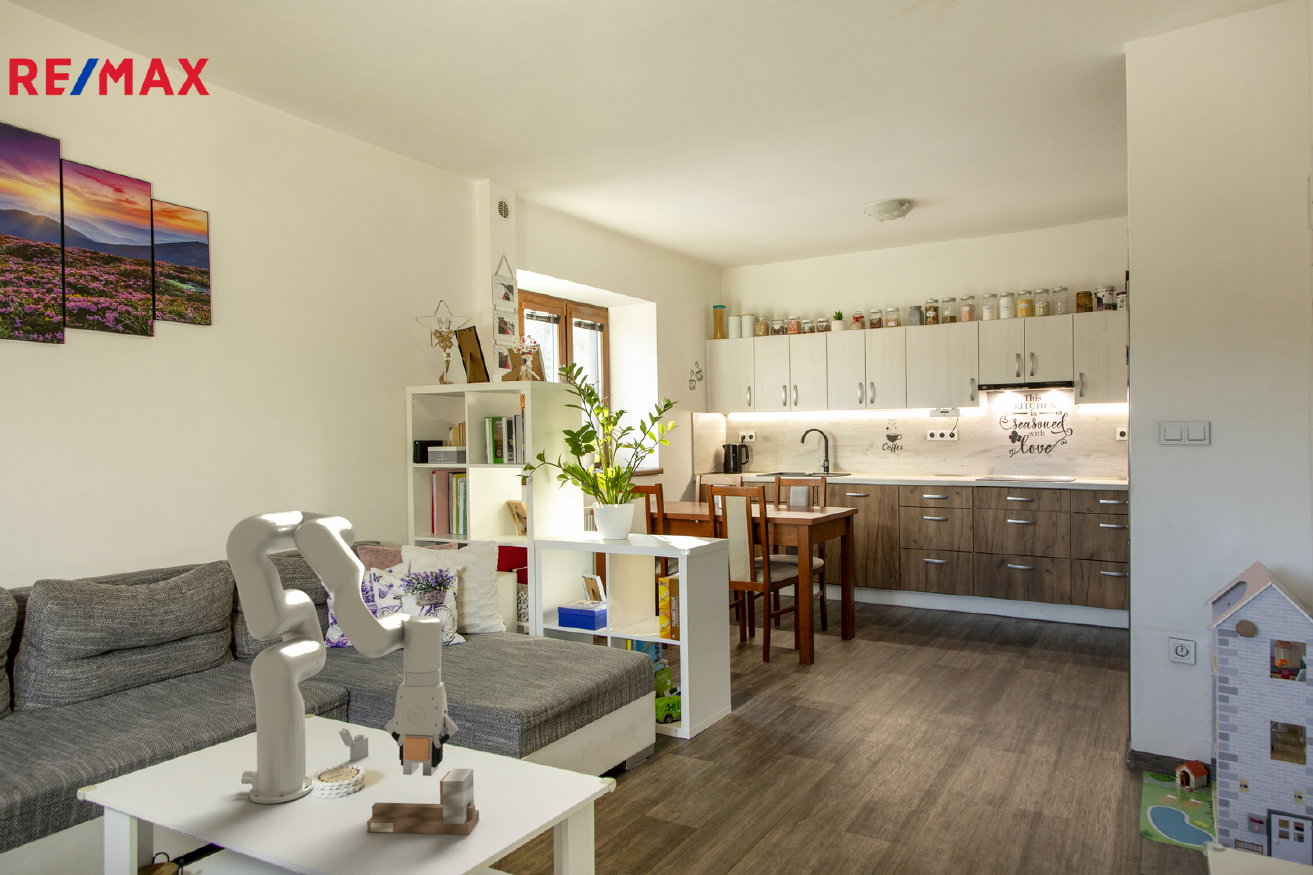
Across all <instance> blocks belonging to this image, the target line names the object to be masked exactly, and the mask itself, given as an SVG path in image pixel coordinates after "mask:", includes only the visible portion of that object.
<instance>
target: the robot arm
mask: <svg viewBox="0 0 1313 875" xmlns="http://www.w3.org/2000/svg"><path fill="white" fill-rule="evenodd" d="M355 540H356V531H355V528H354V527H353V525H352V523H351V522H350V521H349V520H347V519H346V518H344V517H342V516H339V515H334V514H328V513H327V514H326V513H321V512H320V513H319V512H314V511H313V512H312V511H306V510H295V509H294V510H293V509H291V510H290V509H288V510H282V511H281V510H280V511H272V512H271V511H270V512H263V513H257V514H252V515H249V516H248V517H244V518H243V519H242V520H240V521H239V522H237V523H236V524H235V525H234V526H233V527H232V529H231V531H230V532H229V535H228V537H227V539H226V546H225V552H226V557H227V561H228V564H229V567H230V570H231V572H232V575H233V577H234V580H235V584H236V588H237V594H238V596H239V601H240V605H241V608H242V612H243V613H242V614H243V617H244V620H245V624H246V627H247V630H248V633H249V635H250V636H252V638H254V639H256V640H259V641H268V640H273V639H276V638H279V637H282V642H278V643H276V644H272V645H270V646H268V647H266V648H265V649H263V650H262V651H261V652H259V653H258V654H257V655H256V656H255V658H254V659H253V662H252V664H251V666H250V667H251V668H250V680H251V684H252V689H253V692H254V693H253V694H254V698H255V700H254V701H255V715H256V717H255V718H256V719H255V720H256V721H255V722H256V771H254V770H244V771H243V772H242V774H241V775H242V776H241V780H240V783H241V784H244V785H249V784H251V785H252V786H251V789H250V790H249V794H248V796H249V798H248V799H249V800H250V801H252V802H254V803H256V804H265V805H267V804H269V805H270V804H278V803H279V804H280V803H285V802H289V801H293V800H296V799H298V798H302V797H303V796H306V795H307V794H309V792H311V791H312V790H311V787H312V779H313V778H311V777H309V776H307V769H306V767H307V766H306V763H307V762H306V757H307V756H306V753H307V752H306V710H305V701H304V697H303V694H302V692H301V690H300V688H299V683H301V682H303V681H305V680H307V679H309V678H311V677H313V676H315V675H317V674H318V673H319V672H321V671H322V669H323V668H324V666H325V664H326V660H327V650H326V644H325V641H324V640H325V639H324V637H323V632H322V629H321V624H320V620H319V617H318V613H317V609H316V607H315V604H314V602H313V600H312V599H311V597H310V596H309V595H308V594H307V593H306V592H304V591H303V590H300V589H296V588H288V589H284V588H283V585H282V582H281V576H280V573H279V571H278V569H277V567H276V565H275V564H274V562H273V561H272V560H271V558H270V557H269V556H268V555H269V553H271V552H276V551H281V550H287V549H294V548H296V550H297V552H299V553H300V555H301V556H302V558H303V559H304V561H305V562H306V563H307V564H308V565H309V567H310V568H311V569H312V571H313V572H314V573H315V574H316V576H317V578H318V579H319V580H320V581H321V582H322V583H323V585H324V586H325V588H327V590H328V591H329V593H330V595H331V605H332V611H333V614H334V618H335V621H336V624H337V626H338V627H339V629H340V630H341V632H342V633H343V635H344V636H345V637H346V639H347V640H348V641H349V643H350V644H351V645H352V646H353V647H354V649H355V650H357V651H358V653H360V654H361V655H363V656H365V657H367V658H371V659H373V658H374V659H376V658H380V657H383V656H386V655H387V654H389V653H392V652H393V651H396V650H400V649H403V669H401V670H398V671H397V673H396V676H397V678H401V679H402V683H400V684H399V685H398V690H397V693H396V700H395V705H394V706H395V708H394V716H393V717H392V718H391V719H390V720H389V721H388V722H387V723H386V724H385V725H384V729H385V730H386V731H387V732H388V733H389V734H390V736H391V737H392V738H393V740H394V741H395V742H396V745H397V746H398V747H399V750H398V751H399V754H398V757H399V758H398V759H399V761H400V766H402V767H403V741H404V735H416V736H433V742H434V744H435V747H434V748H433V753H432V767H433V768H436V767H437V766H438V767H439V765H440V764H441V762H442V761H443V759H444V754H443V753H444V744H445V743H446V742H447V741H448V740H449V739H450V738H451V737H453V735H455V734H456V733H457V732H458V730H459V727H458V725H457V724H456V723H455V722H454V721H453V719H452V718H451V717H450V716H449V715H448V714H449V713H448V702H447V701H448V699H447V692H446V688H445V683H444V682H443V681H442V640H443V639H442V638H443V636H442V635H443V634H442V630H443V627H442V626H443V624H442V621H441V619H440V618H439V617H436V616H433V615H432V616H431V615H419V616H417V615H414V614H408V613H404V612H391V613H388V614H385V615H381V616H378V617H375V615H374V614H373V612H372V611H371V610H370V609H369V608H368V606H367V604H366V603H365V601H364V598H363V595H362V589H361V588H362V583H363V580H364V579H365V577H366V576H367V569H366V566H365V565H364V563H363V562H362V561H361V560H360V559H359V557H358V556H357V555H356V554H355V552H354V551H353V550H352V549H351V548H352V547H353V545H354V542H355ZM446 728H447V729H448V731H446V733H443V730H444V729H446Z"/></svg>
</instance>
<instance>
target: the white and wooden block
mask: <svg viewBox="0 0 1313 875" xmlns="http://www.w3.org/2000/svg"><path fill="white" fill-rule="evenodd" d="M434 747H435V744H434V742H433V736H416V735H404V741H403V766H402V775H403V776H404V775H406V776H407V775H408V776H412V775H414V773H415V772H416V771H417V770H418V769H419V768H420V764H421V763H422V776H426V777H431V776H433V774H435V773H436V772H437V771H438V769H439V765H438V766H437V767H436V768H433V767H432V753H433V748H434Z"/></svg>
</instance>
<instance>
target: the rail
mask: <svg viewBox="0 0 1313 875" xmlns="http://www.w3.org/2000/svg"><path fill="white" fill-rule="evenodd" d="M474 792H475V791H474V769H473V768H452V769H451V770H449V771H447V773H446V774H445V775H444V776H443V777H442V778H441V779H440V781H439V803H415V802H414V803H413V802H411V803H410V802H374V803H373V805H372V806H371V817H369V819H368V820H367V822H366V832H367V833H383V834H384V833H385V834H387V833H391V834H392V833H394V834H424V835H425V834H429V835H464V836H465V835H466V836H467V835H468V836H469V835H470V834H471V832H472V831H473V830H474V828H475V827H476V826H477V824H478V822H479V821H480V810H479V809H476V804H475V803H474V802H475V800H474V799H475V798H474V797H475V796H474V795H475V794H474Z"/></svg>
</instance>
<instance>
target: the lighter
mask: <svg viewBox="0 0 1313 875" xmlns="http://www.w3.org/2000/svg"><path fill="white" fill-rule="evenodd" d="M338 734H339V736H340V738H341V739H342V742H343V744H344V746H346V747H349V754H350V755H349V758H350V761H353V762H356V761H359V760H361V759H364V758H366V757H369V737H368V736H365V734H362V733H360V734H357V735H355V736H353V737H354V738H353V737H352V735H351V733H350V731H349V729H348V728H342V729H341V730H340V731H339V732H338Z"/></svg>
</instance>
